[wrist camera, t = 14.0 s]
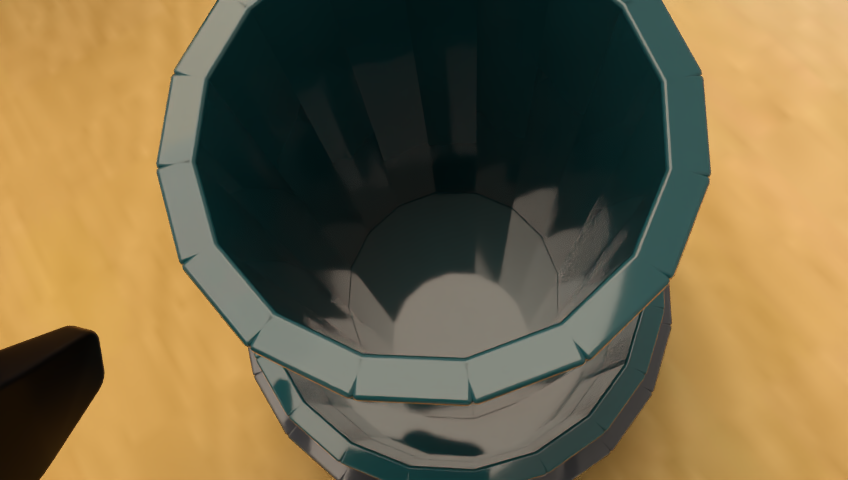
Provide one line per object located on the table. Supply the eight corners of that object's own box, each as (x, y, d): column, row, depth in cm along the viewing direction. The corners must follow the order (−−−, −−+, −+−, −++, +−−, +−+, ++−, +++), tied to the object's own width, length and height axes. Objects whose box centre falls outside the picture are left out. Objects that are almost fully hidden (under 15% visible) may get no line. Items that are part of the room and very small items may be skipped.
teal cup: (446, 472, 16) (403, 543, 6) (289, 289, 18) (57, 117, 8) (624, 300, 17) (832, 124, 7) (458, 140, 19) (440, -182, 9)
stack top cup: (560, 530, 18) (592, 568, 13) (249, 403, 19) (174, 395, 14) (653, 215, 20) (710, 148, 15) (368, 125, 22) (338, 39, 17)
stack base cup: (575, 561, 17) (598, 591, 14) (222, 415, 19) (171, 413, 16) (678, 204, 20) (718, 160, 17) (359, 105, 22) (338, 48, 19)
